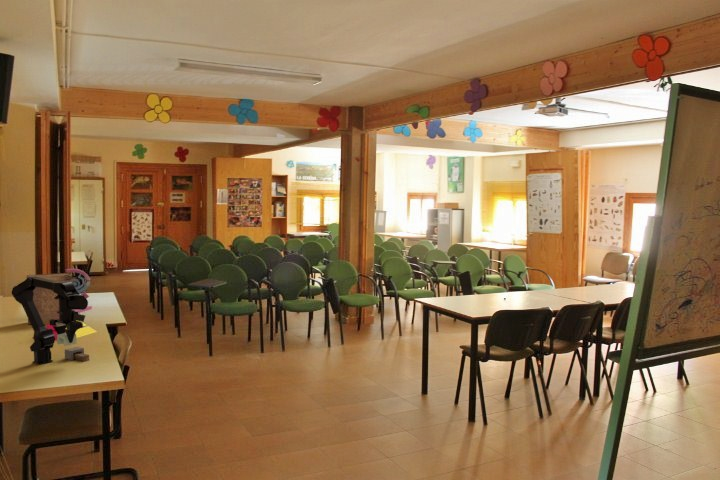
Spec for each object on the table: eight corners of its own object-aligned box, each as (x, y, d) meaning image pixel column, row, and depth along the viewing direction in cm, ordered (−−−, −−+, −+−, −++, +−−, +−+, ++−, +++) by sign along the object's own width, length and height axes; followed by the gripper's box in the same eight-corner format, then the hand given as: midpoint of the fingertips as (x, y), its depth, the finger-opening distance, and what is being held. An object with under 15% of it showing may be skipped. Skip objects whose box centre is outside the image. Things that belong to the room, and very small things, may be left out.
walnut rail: (83, 361, 283) (83, 356, 282) (71, 358, 288) (71, 353, 288) (89, 360, 285) (89, 354, 285) (77, 357, 290) (77, 352, 290)
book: (27, 325, 365) (26, 276, 363) (28, 322, 373) (26, 275, 371) (73, 321, 377) (71, 274, 375) (72, 318, 385) (71, 272, 383)
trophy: (91, 308, 419) (90, 266, 417) (91, 312, 404) (89, 269, 402) (60, 310, 412) (58, 268, 410) (58, 315, 396) (56, 270, 394)
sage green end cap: (65, 346, 272) (64, 336, 272) (57, 344, 276) (57, 334, 276) (76, 343, 277) (76, 334, 276) (68, 341, 280) (68, 332, 280)
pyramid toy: (99, 332, 347) (98, 308, 346) (66, 342, 323) (65, 316, 322) (64, 330, 354) (63, 306, 353) (30, 339, 330) (29, 314, 329)
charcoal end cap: (84, 357, 290) (83, 348, 290) (71, 360, 285) (71, 351, 285) (77, 355, 293) (77, 346, 293) (64, 358, 288) (64, 349, 287)
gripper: (93, 308, 276) (94, 341, 277) (71, 304, 287) (72, 335, 288) (70, 311, 267) (71, 345, 268) (48, 307, 278) (49, 340, 279)
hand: (66, 341), depth 276 cm, fingers closed on sage green end cap, 7 cm apart
